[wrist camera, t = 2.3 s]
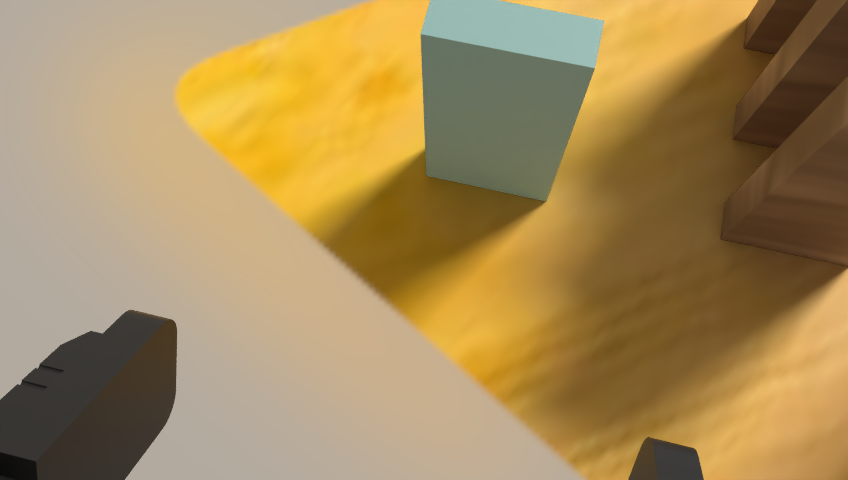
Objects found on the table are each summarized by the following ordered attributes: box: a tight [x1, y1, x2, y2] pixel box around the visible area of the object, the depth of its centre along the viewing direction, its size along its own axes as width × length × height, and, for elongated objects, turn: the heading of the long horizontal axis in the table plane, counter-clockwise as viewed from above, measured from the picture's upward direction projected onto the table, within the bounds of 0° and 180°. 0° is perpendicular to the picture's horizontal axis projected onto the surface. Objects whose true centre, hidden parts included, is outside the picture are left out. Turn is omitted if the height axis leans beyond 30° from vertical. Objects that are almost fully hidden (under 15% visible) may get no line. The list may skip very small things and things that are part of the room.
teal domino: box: [421, 0, 604, 201], centre depth 26 cm, size 2×5×10 cm, turn 77°
